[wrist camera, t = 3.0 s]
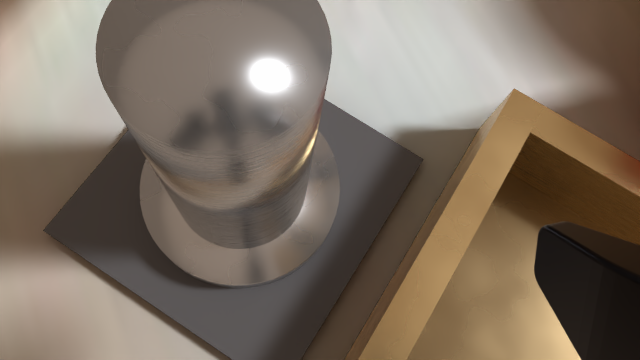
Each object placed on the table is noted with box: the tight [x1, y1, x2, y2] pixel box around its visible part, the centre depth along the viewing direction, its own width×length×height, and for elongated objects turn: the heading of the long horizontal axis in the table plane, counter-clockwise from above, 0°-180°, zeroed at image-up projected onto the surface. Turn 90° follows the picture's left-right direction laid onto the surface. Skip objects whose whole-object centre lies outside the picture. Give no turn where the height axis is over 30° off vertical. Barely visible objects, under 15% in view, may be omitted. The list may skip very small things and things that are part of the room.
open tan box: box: [344, 89, 640, 360], centre depth 18 cm, size 11×11×3 cm
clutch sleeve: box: [96, 0, 340, 288], centre depth 16 cm, size 7×7×10 cm
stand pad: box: [43, 99, 423, 360], centre depth 20 cm, size 10×10×1 cm
